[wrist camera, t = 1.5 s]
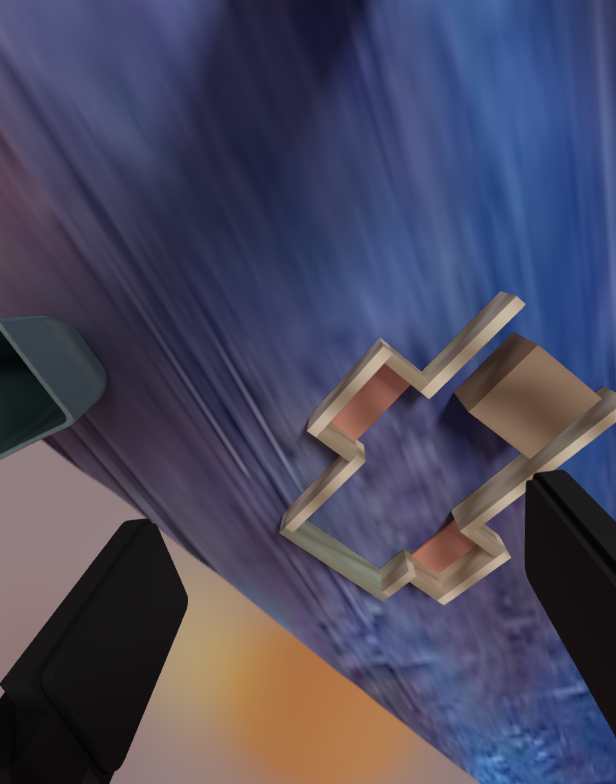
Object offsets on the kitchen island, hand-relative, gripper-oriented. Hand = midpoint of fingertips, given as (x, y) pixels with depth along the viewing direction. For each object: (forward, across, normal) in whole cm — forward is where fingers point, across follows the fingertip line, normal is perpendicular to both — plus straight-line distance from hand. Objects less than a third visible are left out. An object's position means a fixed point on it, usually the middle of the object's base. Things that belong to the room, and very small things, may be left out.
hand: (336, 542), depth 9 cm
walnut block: (+25, -14, +8) cm, 30 cm away
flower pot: (+25, +25, -2) cm, 36 cm away
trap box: (+25, -7, +14) cm, 30 cm away
